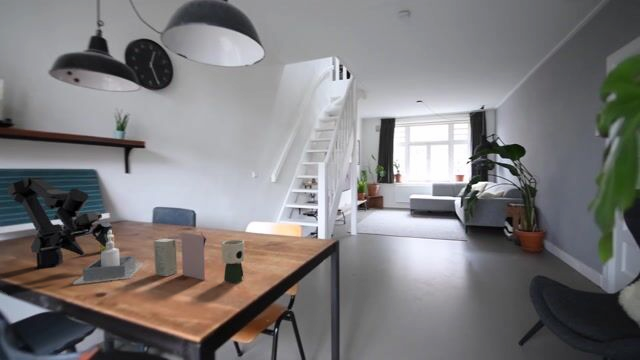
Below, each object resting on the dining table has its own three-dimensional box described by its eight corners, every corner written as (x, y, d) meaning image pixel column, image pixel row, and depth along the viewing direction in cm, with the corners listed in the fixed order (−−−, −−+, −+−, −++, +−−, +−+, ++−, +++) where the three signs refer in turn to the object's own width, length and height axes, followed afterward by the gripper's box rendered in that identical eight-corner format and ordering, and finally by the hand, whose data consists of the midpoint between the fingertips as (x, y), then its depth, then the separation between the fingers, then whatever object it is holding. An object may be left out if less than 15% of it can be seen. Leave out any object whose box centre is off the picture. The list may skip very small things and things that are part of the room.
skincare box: (177, 273, 103) (176, 239, 102) (166, 277, 99) (165, 242, 98) (165, 270, 106) (164, 237, 105) (154, 274, 102) (153, 240, 101)
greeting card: (207, 279, 96) (206, 235, 96) (182, 283, 93) (181, 238, 92) (204, 269, 106) (203, 229, 106) (182, 272, 103) (181, 231, 103)
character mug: (236, 287, 89) (236, 246, 89) (215, 286, 90) (214, 246, 90) (250, 275, 100) (249, 238, 99) (231, 274, 101) (230, 237, 100)
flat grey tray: (72, 284, 93) (72, 272, 93) (94, 268, 108) (94, 258, 108) (129, 278, 98) (129, 266, 98) (142, 264, 113) (142, 253, 113)
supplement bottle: (113, 249, 136) (112, 229, 136) (115, 251, 132) (114, 230, 132) (99, 251, 132) (98, 230, 132) (101, 253, 128) (100, 232, 128)
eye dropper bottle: (121, 271, 104) (120, 238, 103) (102, 275, 100) (101, 241, 99) (118, 268, 107) (117, 236, 106) (100, 272, 103) (98, 239, 102)
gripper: (54, 208, 96) (80, 242, 94) (107, 201, 114) (130, 230, 112) (38, 230, 98) (63, 264, 96) (93, 220, 116) (115, 249, 114)
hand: (96, 250), depth 104 cm, fingers open, 9 cm apart
